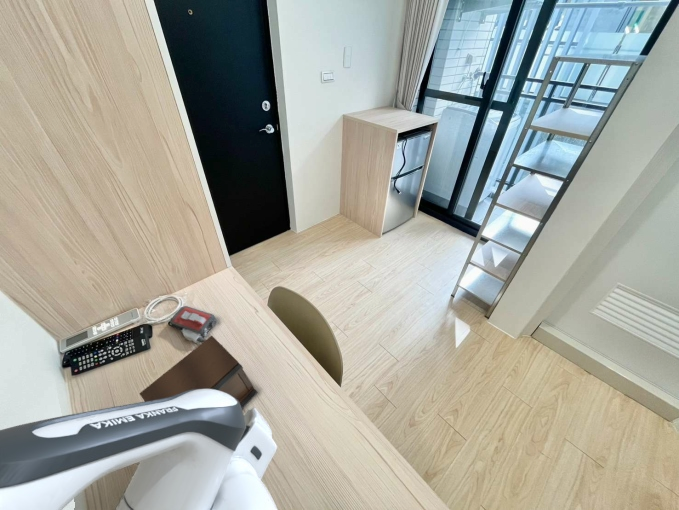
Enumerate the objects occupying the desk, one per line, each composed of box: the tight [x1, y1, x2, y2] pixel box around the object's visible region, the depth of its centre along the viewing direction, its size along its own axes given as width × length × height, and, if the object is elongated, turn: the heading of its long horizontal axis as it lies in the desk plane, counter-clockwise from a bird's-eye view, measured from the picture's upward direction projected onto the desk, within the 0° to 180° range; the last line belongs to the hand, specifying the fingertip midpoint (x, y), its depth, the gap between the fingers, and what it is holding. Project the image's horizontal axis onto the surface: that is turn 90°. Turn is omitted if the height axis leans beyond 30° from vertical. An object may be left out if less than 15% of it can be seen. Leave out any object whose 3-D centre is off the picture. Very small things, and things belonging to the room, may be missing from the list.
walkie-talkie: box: [167, 305, 217, 344], centre depth 79 cm, size 9×4×20 cm
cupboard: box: [139, 335, 259, 410], centre depth 60 cm, size 16×11×16 cm
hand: (209, 450), depth 52 cm, fingers open, 8 cm apart
